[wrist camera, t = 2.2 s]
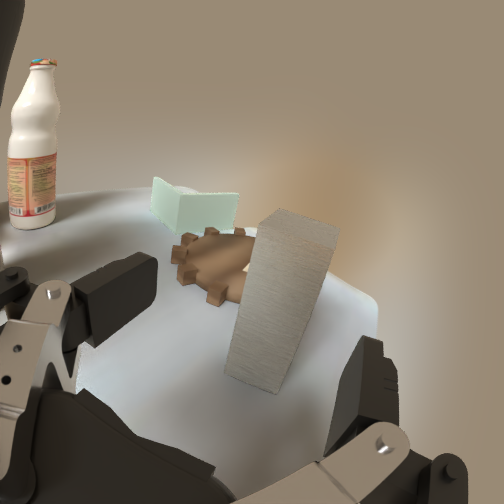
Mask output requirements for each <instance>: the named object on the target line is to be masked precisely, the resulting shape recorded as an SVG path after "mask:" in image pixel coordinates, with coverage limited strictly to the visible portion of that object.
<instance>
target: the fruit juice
mask: <svg viewBox="0 0 504 504" xmlns="http://www.w3.org/2000/svg"><path fill="white" fill-rule="evenodd" d="M56 66H57V60H54V59H37V60H33V61H32V62H31V64H30V75H29V77H28V80H27V81H26V84H25V86H24V88H23V90H22V92H21V94H20V96H19V98H18V100H17V101H16V103H15V104H14V106H13V109H12V113H11V123H12V134H11V137H10V139H9V144H8V202H9V216H10V222H11V224H12V226H13V227H15V228H17V229H23V230H29V229H37V228H41V227H44V226H46V225H48V224H50V223H51V222H52V221H53V220H54V219H55V213H56V205H55V181H56V179H55V178H56V155H57V134H56V130H55V128H56V123H57V120H58V118H59V114H60V103H59V100H58V98H57V95H56V90H55V83H54V76H53V72H54V70H55V69H56Z"/></svg>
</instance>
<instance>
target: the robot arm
mask: <svg viewBox="0 0 504 504" xmlns="http://www.w3.org/2000/svg"><path fill="white" fill-rule="evenodd" d="M24 7H25V0H0V106H1V102H2V96H3V90H4V84H5V80H6V76H7V71H8V67H9V63H10V60H11V56H12V53H13V50H14V46H15V43H16V40H17V36H18V33H19V30H20V26H21V22H22V19H23V13H24ZM157 270H158V262H157V259H156V258H154V257H152V256H149V255H147V254H144V253H142V252H137V253H135V254H133V255H131V256H129V257H127V258H125V259H121V260H117V261H113V262H111V263H109V264H107V265H105V266H104V267H101V268H99V269H97V270H96V272H95V271H94V272H92V273H90V274H88V275H86V276H84V277H82V278H80V279H78V280H76V281H75V282H73V283H71V284H68V283H67V282H64V281H61V280H50V281H46V282H44V283H42V284H40V285H39V286H38V285H35V284H32V283H29V279H28V273H27V271H26V270H25V269H24V268H21V267H11V268H7V269H4V263H3V257H2V251H1V245H0V309H1V308H2V307H4V308H5V312H6V315H7V318H8V321H7V322H6V323H5V324H3V325H2V326H0V504H358V503H360V504H468V472H467V468H466V466H465V464H464V462H463V461H462V460H461V459H460V458H459V457H457V456H456V455H453V454H450V453H444V454H441V455H439V456H437V457H436V458H435V459H434V460H433V461H432V460H430V459H428V458H426V457H424V456H422V455H420V454H418V453H416V452H414V451H412V450H411V449H410V443H409V439H408V437H407V435H406V434H405V432H404V431H403V430H402V429H401V428H399V396H398V384H397V383H398V375H397V369H396V367H395V366H394V364H393V362H392V360H391V359H389V358H385V357H383V355H384V353H383V342H382V341H380V340H377V339H374V338H370V337H367V336H364V335H363V336H362V337H361V338H360V340H359V342H358V343H357V345H356V347H355V349H354V351H353V353H352V355H351V357H350V359H349V361H348V362H347V364H346V366H345V368H344V370H343V372H342V375H341V378H340V381H339V386H338V391H337V397H336V402H335V407H334V412H333V417H332V421H331V426H330V430H329V435H328V439H327V443H326V447H325V451H324V455H323V457H326V458H325V459H324V460H322V461H320V462H317V461H315V462H312V463H310V464H308V465H306V466H305V467H303V468H301V469H299V470H298V471H296V472H294V473H292V474H291V475H289V476H287V477H285V478H283V479H281V480H279V481H278V482H276V483H274V484H272V485H270V486H268V487H266V488H264V489H262V490H260V491H257V492H255V493H253V494H251V495H249V496H247V497H244V498H242V499H240V500H237V499H236V498H235V496H234V495H233V494H232V492H231V491H230V490H229V489H228V488H227V487H226V486H225V485H224V484H223V483H222V482H221V481H219V480H218V479H217V478H215V477H214V476H213V475H214V471H215V468H216V467H215V466H213V465H211V464H208V463H206V462H204V461H202V460H200V459H198V458H196V457H194V456H191V455H189V454H187V453H185V452H183V451H182V450H180V449H177V448H174V447H170V446H167V445H164V444H160V443H157V442H154V441H151V440H148V439H145V438H142V437H139V436H137V435H136V434H134V433H133V432H132V431H131V430H130V429H129V428H128V427H127V425H126V424H125V423H124V422H123V421H122V420H121V419H120V418H119V417H118V416H117V415H116V413H115V412H114V411H113V410H112V409H111V408H110V407H109V406H107V405H106V404H105V403H103V402H102V401H100V400H99V399H98V398H96V397H95V396H94V395H92V394H91V393H90V392H88V391H87V390H86V389H85V388H84V389H82V390H81V391H80V392H79V393H78V394H77V395H76V391H75V386H76V379H77V373H78V367H79V361H80V356H81V350H82V348H81V343H83V342H84V341H85V342H87V343H88V344H90V345H91V346H92V347H94V348H96V347H97V346H99V345H100V344H101V343H102V342H104V341H105V340H106V339H108V338H109V337H110V336H112V335H113V334H114V333H115V332H117V331H118V330H119V329H121V328H122V327H123V326H124V325H126V324H127V323H128V322H130V321H131V320H132V319H134V318H135V317H136V316H138V315H139V314H140V313H141V312H143V311H144V310H145V309H147V308H148V307H149V306H150V305H151V304H152V303H153V301H154V299H155V296H156V290H157Z"/></svg>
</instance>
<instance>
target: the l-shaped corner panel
mask: <svg viewBox="0 0 504 504" xmlns="http://www.w3.org/2000/svg"><path fill="white" fill-rule="evenodd" d="M238 198H239V194H238V193H182V192H181V191H179V190H178V189H176V188H175V187H173V186H172V185H170V184H169V183H167V182H166V181H164V180H163V179H161V178H160V177H154V180H153V188H152V198H151V208H150V211H151V212H152V213H153V214H154V215H155V216H156V217H157V218H158V219H159V220H160V221H161V222H162V223H163V224H164V225H165V226H166V227H168V228H169V229H170V230H171V231H172V232H173V233H174V234H175V235H180V234H185V233H187V232H189V233H199V232H205V227H214V228H216V229H217V230H218V231H219V230H230V229H232V228H233V223H234V218H235V214H236V208H237V204H238Z"/></svg>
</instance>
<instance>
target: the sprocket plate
mask: <svg viewBox="0 0 504 504" xmlns="http://www.w3.org/2000/svg"><path fill="white" fill-rule="evenodd" d="M219 232H220V231H218V230H217V229H216V228H214V227H205V232H204V236H203V237H200V238H198V236H197V235H194V234H191V233H189V232H187V233H185V234H183V235H182V238H181V246H176V245H173V248H172V257H171V263H173V264H182V265H178V271H177V280H178V281H179V282H180V283H181V285H182V286H184V285H188V284H193V283H196V284H197V285H198V286H200V287H201V288H202V289H204V290H206V291H207V292H208V294H207V300H206V302H208V303H210V304H213V305H215V306H217V307H219V306H220V305H221V304H222V303H223V302H224V300H228V301H231V302H235V303H239V304H240V302H241V298H242V293H243V289H244V285H245V281H246V276H247V272H248V268H249V264H250V259H251V255H252V251H253V247H254V242H255V237H250V236H245V234H246V232H245V230H244V229H243V228H235V231H234V234H219Z"/></svg>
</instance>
